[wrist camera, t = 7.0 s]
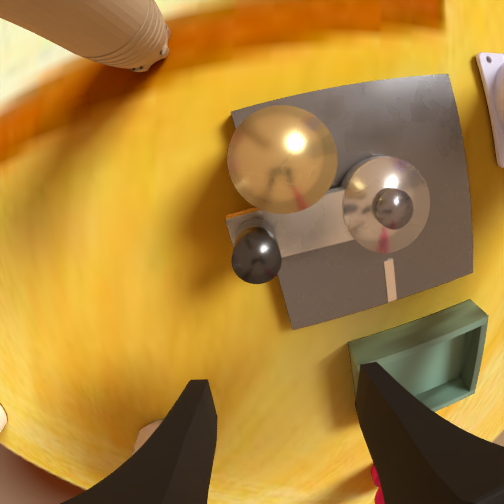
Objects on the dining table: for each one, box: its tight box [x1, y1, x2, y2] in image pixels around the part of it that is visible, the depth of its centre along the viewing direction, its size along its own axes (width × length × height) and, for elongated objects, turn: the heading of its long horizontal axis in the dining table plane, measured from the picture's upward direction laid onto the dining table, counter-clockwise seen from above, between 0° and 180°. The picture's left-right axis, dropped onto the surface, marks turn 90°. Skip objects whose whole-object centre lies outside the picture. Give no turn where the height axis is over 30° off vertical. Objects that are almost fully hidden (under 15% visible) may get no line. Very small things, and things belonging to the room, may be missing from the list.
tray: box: [348, 299, 488, 412], centre depth 21 cm, size 10×8×3 cm
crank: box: [225, 156, 430, 284], centre depth 15 cm, size 11×5×4 cm, turn 105°
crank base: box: [231, 74, 473, 330], centre depth 17 cm, size 13×13×1 cm
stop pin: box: [227, 105, 338, 214], centre depth 14 cm, size 4×4×5 cm
